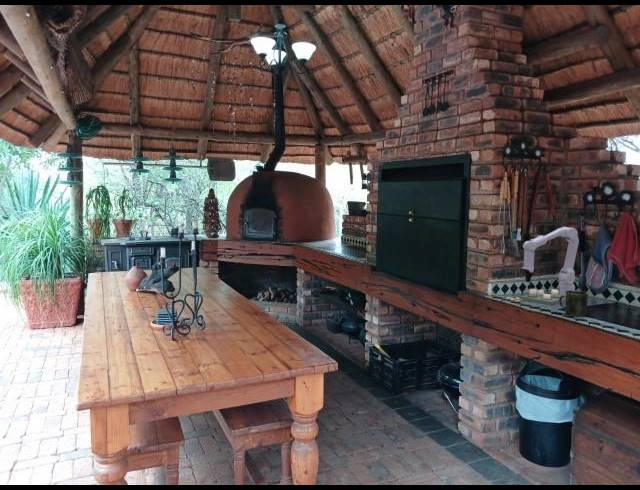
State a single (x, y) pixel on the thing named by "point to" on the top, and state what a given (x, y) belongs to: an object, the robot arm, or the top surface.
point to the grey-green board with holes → (540, 299)
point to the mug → (575, 302)
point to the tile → (515, 298)
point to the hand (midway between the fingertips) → (528, 282)
